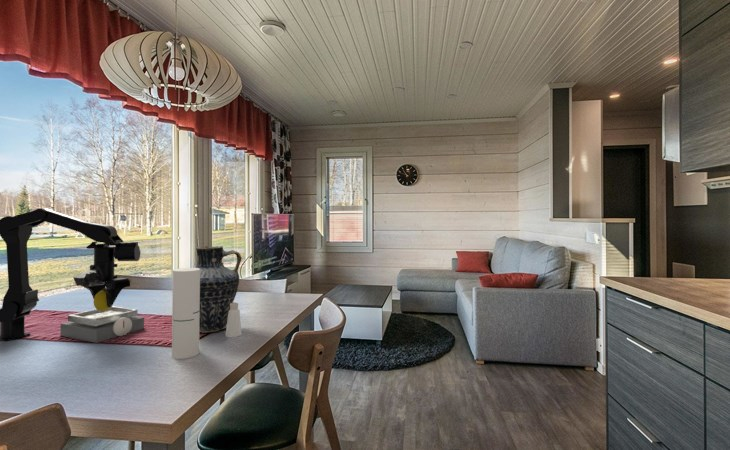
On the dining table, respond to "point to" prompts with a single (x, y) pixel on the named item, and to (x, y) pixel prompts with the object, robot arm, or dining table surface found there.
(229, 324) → the pepper shaker
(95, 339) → the scale
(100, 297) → the lemon
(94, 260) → the robot arm
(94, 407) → the dining table surface
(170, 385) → the dining table surface
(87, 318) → the pan
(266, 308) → the dining table surface
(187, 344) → the cylindrical container
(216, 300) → the jug
